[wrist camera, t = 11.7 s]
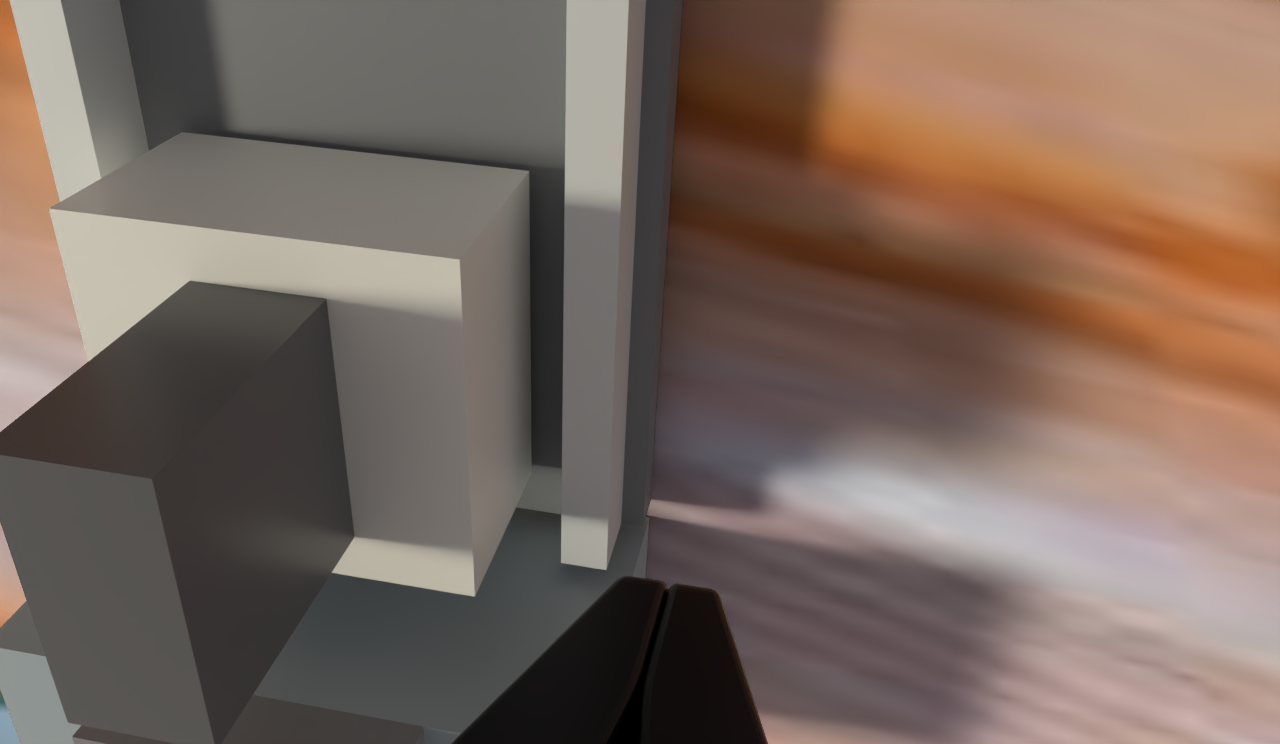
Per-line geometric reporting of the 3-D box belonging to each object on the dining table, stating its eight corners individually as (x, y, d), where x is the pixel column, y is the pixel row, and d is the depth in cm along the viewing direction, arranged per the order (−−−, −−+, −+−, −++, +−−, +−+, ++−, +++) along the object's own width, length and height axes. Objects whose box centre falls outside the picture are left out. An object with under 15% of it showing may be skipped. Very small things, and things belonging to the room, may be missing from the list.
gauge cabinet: (662, 518, 25) (577, 835, 18) (649, 696, 28) (572, 1028, 21) (179, 444, 27) (-78, 707, 20) (217, 620, 30) (7, 903, 23)
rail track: (725, -657, 15) (689, -753, 12) (650, 500, 25) (622, 599, 22) (-60, -662, 16) (-260, -748, 13) (175, 428, 27) (91, 512, 24)
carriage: (529, 170, 20) (318, 438, 12) (531, 473, 24) (370, 824, 16) (181, 132, 21) (-213, 359, 13) (235, 428, 25) (-51, 740, 17)
